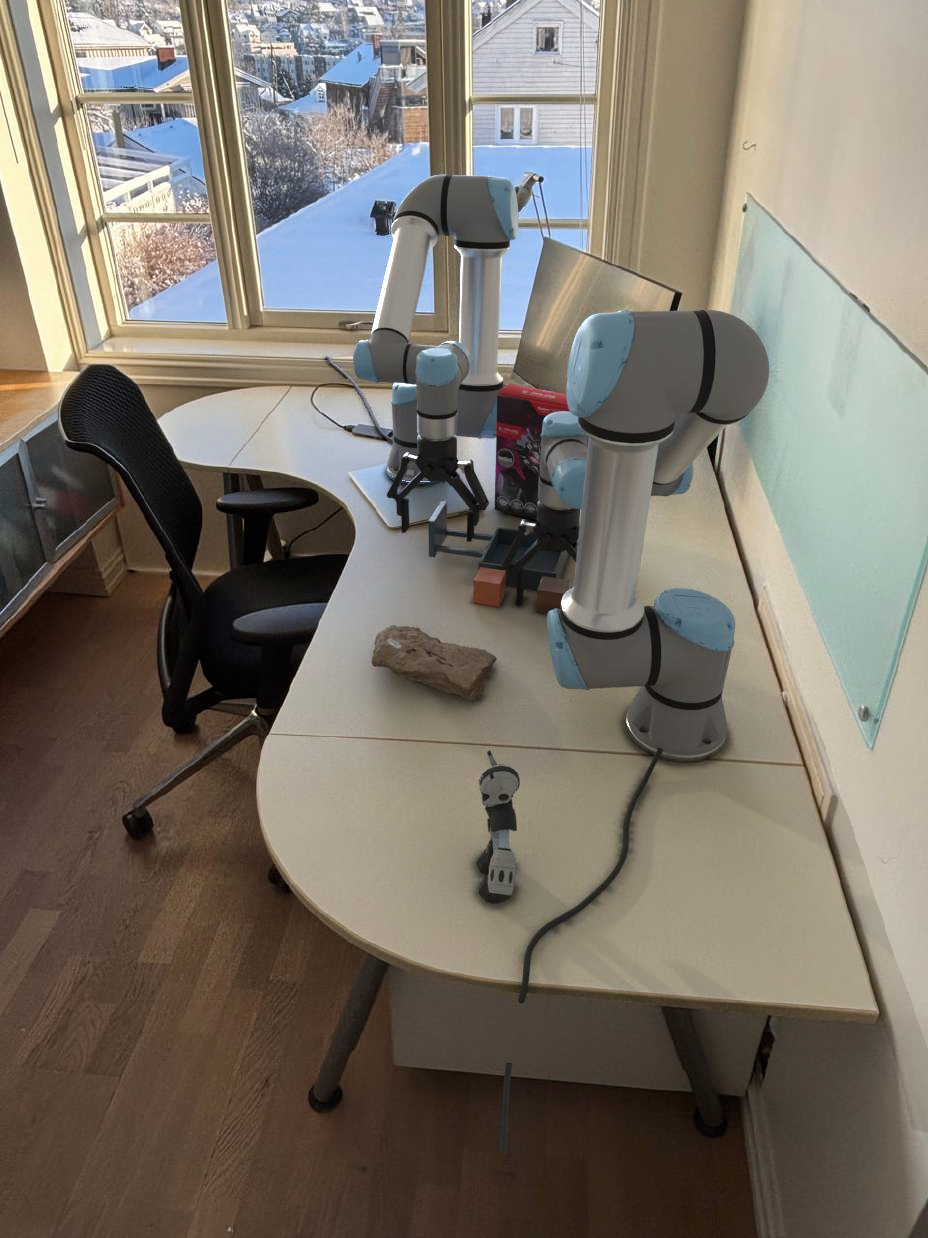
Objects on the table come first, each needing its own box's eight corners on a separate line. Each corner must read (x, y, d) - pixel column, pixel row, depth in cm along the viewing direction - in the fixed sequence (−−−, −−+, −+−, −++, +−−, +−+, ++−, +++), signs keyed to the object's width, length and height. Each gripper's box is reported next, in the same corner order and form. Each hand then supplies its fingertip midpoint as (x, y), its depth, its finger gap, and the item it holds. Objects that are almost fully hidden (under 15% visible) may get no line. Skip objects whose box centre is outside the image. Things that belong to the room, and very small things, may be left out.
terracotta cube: (499, 606, 172) (499, 584, 169) (473, 602, 173) (473, 580, 170) (505, 593, 176) (506, 570, 173) (479, 589, 177) (480, 566, 174)
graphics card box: (491, 511, 204) (494, 391, 189) (505, 498, 209) (509, 381, 194) (563, 528, 197) (572, 406, 182) (575, 515, 202) (585, 395, 187)
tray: (568, 554, 189) (572, 510, 183) (555, 592, 176) (558, 546, 171) (445, 537, 194) (445, 494, 189) (424, 572, 182) (423, 528, 176)
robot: (522, 941, 111) (530, 823, 99) (481, 942, 110) (485, 824, 99) (507, 820, 127) (513, 708, 116) (472, 821, 127) (474, 708, 115)
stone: (347, 674, 149) (354, 641, 146) (379, 641, 162) (386, 611, 160) (469, 718, 145) (478, 685, 143) (492, 681, 159) (500, 650, 156)
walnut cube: (562, 616, 169) (564, 593, 167) (535, 612, 170) (537, 589, 168) (567, 602, 173) (569, 579, 171) (541, 598, 174) (542, 576, 172)
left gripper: (506, 434, 174) (502, 534, 185) (381, 420, 179) (385, 518, 191) (496, 449, 168) (493, 551, 179) (367, 434, 173) (372, 534, 185)
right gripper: (631, 500, 160) (618, 604, 172) (497, 483, 165) (494, 586, 178) (625, 519, 154) (613, 626, 166) (487, 501, 159) (484, 606, 172)
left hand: (437, 534), depth 185 cm, fingers open, 13 cm apart
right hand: (551, 606), depth 172 cm, fingers open, 12 cm apart
